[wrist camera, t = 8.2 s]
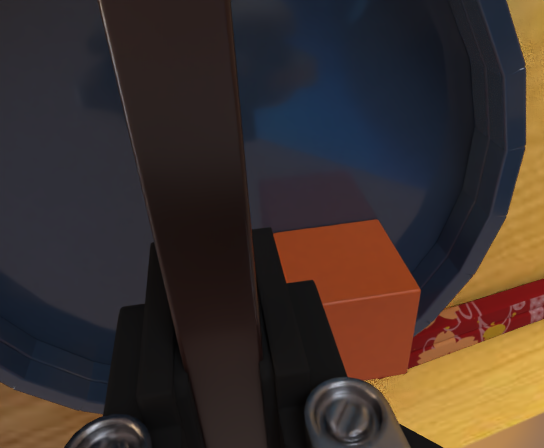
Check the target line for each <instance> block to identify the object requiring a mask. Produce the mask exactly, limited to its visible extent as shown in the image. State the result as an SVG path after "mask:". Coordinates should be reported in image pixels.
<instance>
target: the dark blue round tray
mask: <svg viewBox="0 0 544 448" xmlns="http://www.w3.org/2000/svg"><path fill="white" fill-rule="evenodd" d="M231 9H232V20H233V31H234V42H235V53H236V64H237V75H238V86H239V97H240V108H241V119H242V130H243V141H244V152H245V163H246V174H247V185H248V196H249V207H250V217H251V228H252V229H259V228H266V227H271V229H272V232H273V234H274V233H277V232H284V231H292V230H299V229H307V228H314V227H322V226H329V225H337V224H344V223H352V222H359V221H367V220H374V219H377V220H379V222H380V223H381V225H382V227H383V228H384V230H385V232H386V233H387V235H388V237H389V238H390V240H391V242H392V243H393V245H394V246H395V248H396V250H397V251H398V253H399V255H400V256H401V258H402V260H403V261H404V263H405V265H406V266H407V268H408V269H409V271H410V273H411V274H412V276H413V278H414V279H415V281H416V283H417V284H418V286H419V288H420V290H421V294H420V300H419V306H418V311H417V317H416V323H415V329H414V335H413V337H415V336H416V335H417V334H418V333H420V332H421V331H422V330H424V329H425V328H426V327H427V326H429V325H430V324H431V322H433V321H434V320H435V319H436V318H437V317H438V315H439V314H440V313H441V312H442V311H443V310H444V309H445V307H446V306H447V305H448V304H449V303H450V302H451V301H452V299H453V298H454V297H455V296H456V295H457V294H458V293H459V291H460V290H461V289H462V288H463V287H464V286H465V285H466V283H467V282H468V281H469V280H470V279H471V278H472V277H473V275H474V274H475V273H476V271H477V269H478V267H479V266H480V264H481V262H482V260H483V258H484V257H485V255H486V253H487V251H488V249H489V248H490V246H491V244H492V242H493V240H494V239H495V237H496V235H497V233H498V231H499V230H500V228H501V226H502V224H503V222H504V221H505V219H506V215H507V213H508V210H509V206H510V202H511V199H512V195H513V192H514V188H515V184H516V181H517V177H518V173H519V170H520V166H521V163H522V159H523V155H524V152H525V145H526V68H525V61H524V57H523V54H522V51H521V47H520V44H519V41H518V37H517V34H516V31H515V27H514V24H513V21H512V18H511V14H510V11H509V8H508V4H507V1H506V0H231ZM152 242H154V239H153V235H152V231H151V227H150V222H149V218H148V214H147V210H146V205H145V201H144V197H143V193H142V188H141V184H140V180H139V176H138V171H137V167H136V163H135V159H134V154H133V150H132V146H131V142H130V138H129V133H128V129H127V125H126V121H125V116H124V112H123V108H122V104H121V99H120V95H119V91H118V87H117V82H116V78H115V74H114V70H113V65H112V61H111V57H110V53H109V48H108V44H107V40H106V36H105V31H104V27H103V23H102V19H101V14H100V10H99V6H98V2H97V0H0V382H1V383H3V384H5V385H7V386H8V387H10V388H14V390H17V391H20V392H23V393H26V394H29V395H32V396H35V397H38V398H41V399H44V400H47V401H50V402H53V403H56V404H59V405H62V406H65V407H68V408H72V409H75V410H78V411H79V410H81V411H84V412H91V413H97V414H103V412H104V406H105V399H106V393H107V386H108V380H109V373H110V367H111V361H112V354H113V348H114V341H115V335H116V329H117V322H118V316H119V312H120V309H121V307H124V306H131V305H138V304H145V297H146V286H147V276H148V265H149V255H150V245H151V243H152Z"/></svg>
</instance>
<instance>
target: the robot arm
mask: <svg viewBox="0 0 544 448" xmlns="http://www.w3.org/2000/svg"><path fill="white" fill-rule="evenodd" d="M252 239H253V250H254V261H255V272H256V283H257V294H258V305H259V316H260V327H261V338H262V349H263V360H262V361H260V362H259V368H260V378H261V388H262V398H263V407H264V417H265V427H266V437H267V447H268V448H443V447H441V446H439V445H438V444H436V443H434V442H432V441H430V440H428V439H427V438H425V437H423V436H421V435H419V434H417V433H416V432H414V431H412V430H410V429H408V428H406V427H405V426H403V425H401V424H399V423H398V421H397V419H396V417H395V415H394V413H393V411H392V409H391V407H390V405H389V403H388V401H387V400H386V398H385V397H384V396H383V394H382V393H381V392H380V391H379V390H378V389H376V388H375V387H374V386H373V385H371V384H369V383H367V382H365V381H363V380H360V379H356V378H351V377H348V376H347V374H346V371H345V368H344V365H343V362H342V359H341V356H340V353H339V350H338V348H337V345H336V342H335V339H334V336H333V333H332V330H331V327H330V325H329V322H328V319H327V316H326V313H325V310H324V307H323V304H322V301H321V299H320V296H319V293H318V290H317V287H316V285H315V282H314V281H313V280H306V281H299V282H292V283H286V280H285V276H284V273H283V269H282V265H281V262H280V258H279V254H278V250H277V247H276V243H275V239H274V236H273V232H272V229H271V227H266V228H259V229H252ZM64 448H205V446H204V441H203V437H202V433H201V428H200V424H199V420H198V416H197V411H196V407H195V403H194V398H193V394H192V390H191V385H190V381H189V377H188V373H186V372H185V370H184V367H183V363H182V358H181V354H180V350H179V346H178V341H177V337H176V333H175V329H174V324H173V320H172V316H171V312H170V307H169V303H168V299H167V295H166V290H165V286H164V282H163V278H162V273H161V269H160V265H159V261H158V256H157V252H156V248H155V244H154V242H152V243H151V245H150V255H149V265H148V276H147V286H146V297H145V304H138V305H131V306H124V307H121V309H120V312H119V316H118V322H117V329H116V335H115V341H114V348H113V354H112V361H111V367H110V373H109V380H108V386H107V393H106V399H105V406H104V412H103V417H99V418H98V419H96V420H94V421H92V422H90V423H88V424H86V425H85V426H84V427H82V428H81V429H80V430H79V431H77V432H76V433H75V434H74V435H73V436H72V438H71V439H70V440H69V441H68V443H67V444H66V445H65V447H64Z"/></svg>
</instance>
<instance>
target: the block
mask: <svg viewBox="0 0 544 448" xmlns="http://www.w3.org/2000/svg"><path fill="white" fill-rule="evenodd" d="M273 236H274V239H275V243H276V247H277V250H278V254H279V258H280V262H281V265H282V269H283V273H284V276H285V280H286V283H292V282H299V281H306V280H313V281H314V282H315V285H316V287H317V290H318V293H319V296H320V299H321V301H322V304H323V307H324V310H325V313H326V316H327V319H328V322H329V325H330V327H331V330H332V333H333V336H334V339H335V342H336V345H337V348H338V350H339V353H340V356H341V359H342V362H343V365H344V368H345V371H346V374H347V376H348V377H351V378H356V379H360V380H363V381H364V380H370V379H376V378H382V377H388V376H394V375H400V374H405V373H407V370H408V364H409V358H410V352H411V346H412V341H413V335H414V329H415V323H416V317H417V311H418V306H419V300H420V294H421V290H420V288H419V286H418V284H417V283H416V281H415V279H414V278H413V276H412V274H411V273H410V271H409V269H408V268H407V266H406V265H405V263H404V261H403V260H402V258H401V256H400V255H399V253H398V251H397V250H396V248H395V246H394V245H393V243H392V242H391V240H390V238H389V237H388V235H387V233H386V232H385V230H384V228H383V227H382V225H381V223H380V222H379V220H377V219H374V220H367V221H359V222H352V223H344V224H337V225H329V226H322V227H314V228H307V229H299V230H292V231H284V232H277V233H274V234H273Z"/></svg>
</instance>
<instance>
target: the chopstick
mask: <svg viewBox="0 0 544 448" xmlns="http://www.w3.org/2000/svg"><path fill="white" fill-rule="evenodd" d="M542 319H544V279H541V280H538V281H534V282H531V283H528V284H525V285H522V286H519V287H515V288H512V289H509V290H506V291H503V292H499V293H496V294H493V295H490V296H487V297H483V298H480V299H477V300H474V301H471V302H468V303H464V304H461V305H458V306H455V307H452V308H448V309H445V310H443V311H442V312H441V313H440V314H439V315H438V317H437V318H436V319H435V320H434V321H433V322H431V324H430V325H429V326H427V327H426V328H425V329H424V330H422V331H421V332H420V333H418V334H417V335H416V336H415V337H413V341H412V346H411V352H410V358H409V364H408V369H409V368H412V367H414V366H417V365H420V364H423V363H425V362H428V361H431V360H433V359H436V358H439V357H442V356H444V355H447V354H450V353H452V352H455V351H458V350H461V349H463V348H466V347H469V346H471V345H474V344H477V343H480V342H482V341H485V340H488V339H490V338H493V337H496V336H499V335H501V334H504V333H507V332H509V331H512V330H515V329H518V328H520V327H523V326H526V325H528V324H531V323H534V322H537V321H539V320H542ZM382 378H385V377H382ZM382 378H378V379H382Z"/></svg>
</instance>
